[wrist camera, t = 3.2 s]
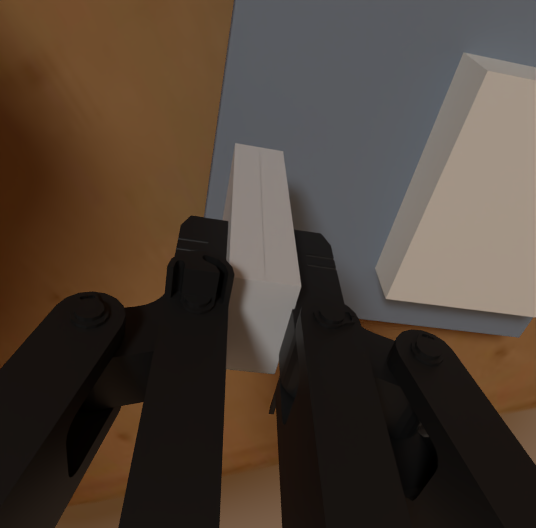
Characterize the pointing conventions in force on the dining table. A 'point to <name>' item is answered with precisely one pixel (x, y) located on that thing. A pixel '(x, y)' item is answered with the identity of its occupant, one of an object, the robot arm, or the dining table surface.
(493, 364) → the dining table surface
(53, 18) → the dining table surface
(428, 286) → the tile
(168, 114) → the dining table surface
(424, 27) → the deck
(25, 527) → the robot arm
